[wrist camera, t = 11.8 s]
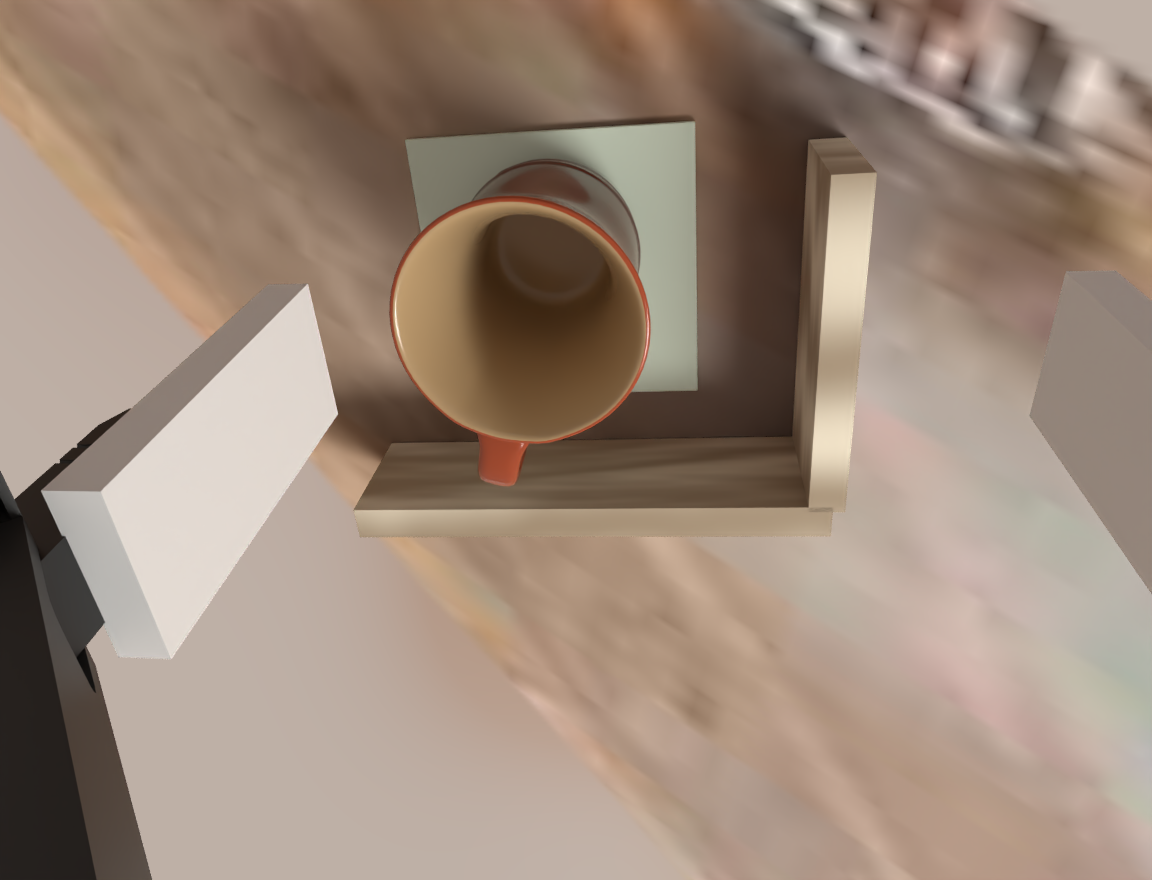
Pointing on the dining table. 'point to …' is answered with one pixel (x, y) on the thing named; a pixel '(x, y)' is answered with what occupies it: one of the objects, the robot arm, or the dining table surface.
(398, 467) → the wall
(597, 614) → the dining table surface
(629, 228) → the mug
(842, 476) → the side wall
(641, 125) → the pad
